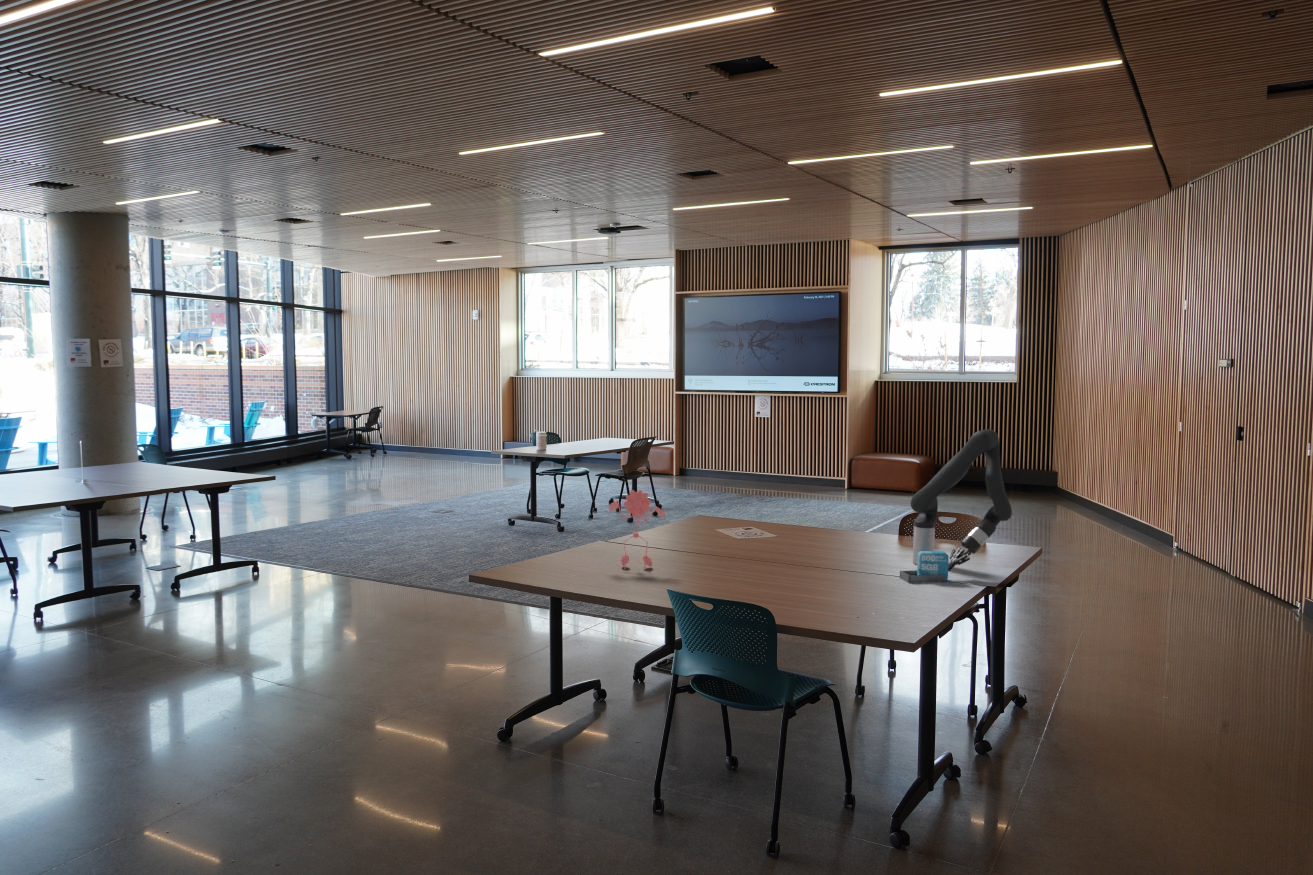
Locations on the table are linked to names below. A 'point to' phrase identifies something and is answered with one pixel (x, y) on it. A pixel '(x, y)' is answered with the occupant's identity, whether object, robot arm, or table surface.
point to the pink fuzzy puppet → (636, 506)
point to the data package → (932, 563)
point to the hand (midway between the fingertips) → (947, 569)
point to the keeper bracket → (920, 577)
